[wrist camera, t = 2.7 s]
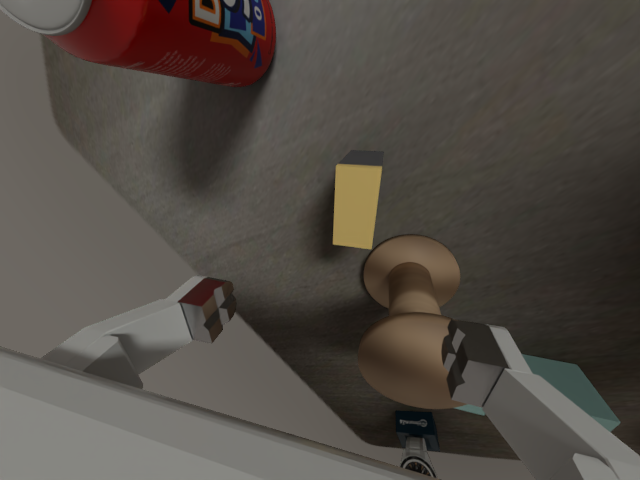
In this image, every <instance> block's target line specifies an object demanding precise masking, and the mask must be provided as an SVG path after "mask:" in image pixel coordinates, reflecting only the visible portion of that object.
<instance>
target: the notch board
mask: <svg viewBox="0 0 640 480" xmlns="http://www.w3.org/2000/svg"><path fill="white" fill-rule="evenodd" d="M522 356H523V358H524V359H525V361H526V363H527V364H528V366H529V368H530V370H531V371H532V373H533V374H535V375H539V376H541V377H542V378H543V379H544V380H546V381H547V382H548V383H549V384H551V385H552V386H553V387H554V388H556V389H557V390H558V391H559V392H561V393H562V394H563V395H564V396H566V397H567V398H568V399H569V400H571V401H572V402H573V403H574V404H576V405H577V406H578V407H579V408H581V409H582V410H583V411H584V412H586V413H587V414H588V415H589V416H590V417H592V418H593V419H594V420H595V421H597V422H598V423H599V424H600V425H602V426H603V427H604V428H605V429H607V430H608V431H609V432H611V431H612V430H613V429H614V428H615V427H616V426H618V425H619V424H620V423H621V422H620V421H619V420H618V418H617V417H616V416H615V414H614V413H613V412H612V410H611V409H610V408H609V406H608V405H607V404H606V402H605V401H604V400H603V398H602V397H601V396H600V394H599V393H598V392H597V390H596V389H595V388H594V386H593V385H592V384H591V382H590V381H589V380H588V379H587V377H586V376H585V375H584V373H583V372H582V371H581V369H580V368H579V367H578V365H576V364H571V363H566V362H561V361H555V360H550V359H545V358H540V357H535V356H530V355H524V354H522ZM455 409H459V410H463V411H467V412H471V413H475V414H479V415H485V413H484V411H483V410H482V408H481V407H477V406H473V405H469V404H467V405H464V406H460V407H455Z"/></svg>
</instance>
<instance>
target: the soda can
mask: <svg viewBox="0 0 640 480" xmlns="http://www.w3.org/2000/svg"><path fill="white" fill-rule="evenodd" d="M0 10H2V11H3V12H4V13H5V14H6V15H7V16H9V17H10V18H11V19H12V20H14V21H15V22H17V23H18V24H20V25H21V26H23V27H25V28H27V29H29V30H31V31H34V32H37V33H40V34H44V35H45V36H46V37H47V38H49V39H50V40H51V41H52V42H53V43H55V44H56V45H57V46H59V47H60V48H61V49H63V50H64V51H66V52H68V53H70V54H71V55H73V56H76V57H78V58H81V59H83V60H86V61H89V62H93V63H98V64H103V65H108V66H114V67H120V68H126V69H132V70H137V71H143V72H149V73H155V74H161V75H166V76H172V77H178V78H184V79H190V80H195V81H201V82H207V83H213V84H218V85H224V86H231V87H244V86H248V85H251V84H253V83H254V82H256V81H257V80H259V79H260V78H261V77H262V76H263V74H264V73H265V72H266V70H267V69H268V67H269V65H270V63H271V60H272V57H273V54H274V50H275V43H276V26H275V19H274V14H273V10H272V7H271V4H270V2H269V0H0Z"/></svg>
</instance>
